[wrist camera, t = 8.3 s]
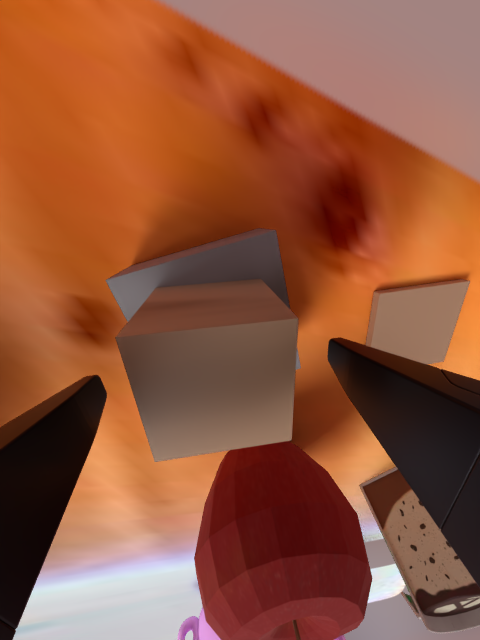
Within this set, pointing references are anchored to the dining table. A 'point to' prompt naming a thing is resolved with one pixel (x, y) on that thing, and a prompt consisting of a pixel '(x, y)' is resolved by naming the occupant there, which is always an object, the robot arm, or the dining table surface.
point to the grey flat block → (205, 269)
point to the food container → (423, 556)
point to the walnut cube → (212, 367)
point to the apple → (280, 549)
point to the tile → (416, 319)
